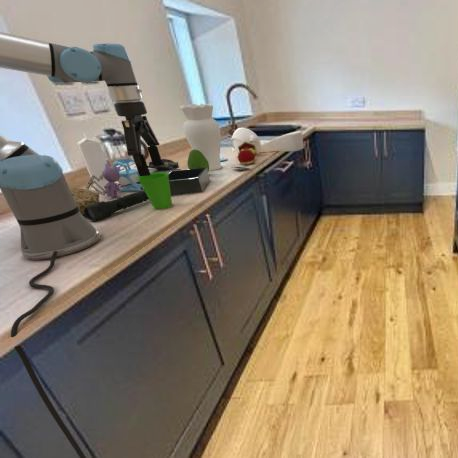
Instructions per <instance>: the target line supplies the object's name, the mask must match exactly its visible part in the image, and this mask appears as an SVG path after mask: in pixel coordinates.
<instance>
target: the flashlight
mask: <svg viewBox="0 0 458 458" xmlns="http://www.w3.org/2000/svg"><path fill="white" fill-rule="evenodd" d="M147 201H150V200H149V198H148V196H147V194H146V192H145V191H144V189H143V190H138V191H135V192H132V193H129V194H126V195H123V196H119V197H116V198H115V199H113V200H107V201H104V200H103V201H100V202H98V203H95V204H92V205H89V206H87V207H85V209H84V214H83V215H84V217H85V218H86V219H87V220H88V221H89V222H90V221H91V222H95V221H100V220H102V219H105V218H107V217H110V216H112V215H113V214H115V213H116V212H118V211H121V210H125V209H128V208H130V207H131V208H132V207H133V206H137V205H140V204H143V203H144V202H147Z"/></svg>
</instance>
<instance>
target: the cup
mask: <svg viewBox="0 0 458 458" xmlns="http://www.w3.org/2000/svg"><path fill="white" fill-rule="evenodd" d="M150 174H151V175H149V176H139V177H137V180H139V184H140V185H142V187H143V188H142V189H143V190H144V191H145V192H146V194H147V196H148V198H149V200H148V201H150V203H151V205H152V206H153V209H155V210H157V211H158V210H159V211H160V210H161V211H162V210H167V209H169V208H171V207H172V206H173V203H172V196H171V193H170V185H169V177H168V175H169V173H167V172H157V173H150Z"/></svg>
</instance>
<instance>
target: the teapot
mask: <svg viewBox="0 0 458 458" xmlns="http://www.w3.org/2000/svg"><path fill="white" fill-rule="evenodd" d="M260 140H261V139H260V138H259V136H258V134H256V133H255V132H254V131H253V130H252V129H249V128H246V127H238V128H236V130H234V132H233V134H232V136H231V138H230V144H231V146H232V149H231V151H232V152H234V153H235V152H236V153H238V152H239V150H238V147H237V146H239V145H240V144H241V143H243V142H244V141H247V142H250V143H253V144H255V146H256V150H257V154H259V153H260V152H259V151H260V150H261V143H260Z"/></svg>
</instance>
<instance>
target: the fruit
mask: <svg viewBox="0 0 458 458" xmlns="http://www.w3.org/2000/svg"><path fill="white" fill-rule="evenodd" d="M205 167H207V170H208V172H209V163H208V161H207V159H206V158H205V156H204V155H203V154H202V153H201V152H200V151H199V150H196V149H194V150H193V149H191V150H190V151H189V153H188V158H187V169H195V168H205Z"/></svg>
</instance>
